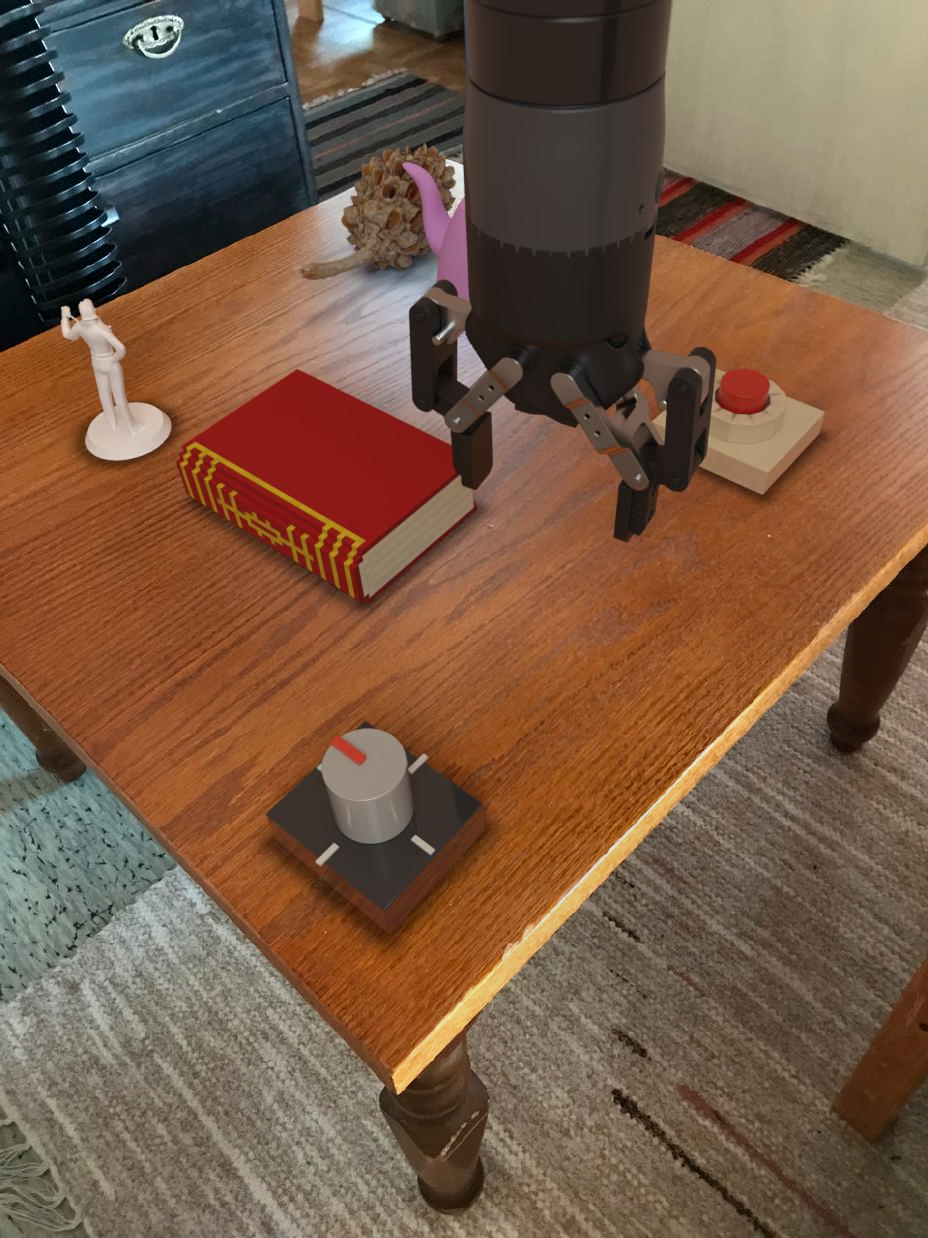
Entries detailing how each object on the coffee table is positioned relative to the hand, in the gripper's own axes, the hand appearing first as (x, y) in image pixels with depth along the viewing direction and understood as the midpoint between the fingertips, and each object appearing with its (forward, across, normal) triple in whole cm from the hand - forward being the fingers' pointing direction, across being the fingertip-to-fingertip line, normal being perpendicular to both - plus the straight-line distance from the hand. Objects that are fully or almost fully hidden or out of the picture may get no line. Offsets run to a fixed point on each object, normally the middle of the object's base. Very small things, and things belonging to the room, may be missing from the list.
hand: (551, 504), depth 50 cm
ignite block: (+16, +2, +29) cm, 33 cm away
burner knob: (+13, -4, -13) cm, 19 cm away
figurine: (+16, -42, +8) cm, 46 cm away
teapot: (+16, -23, +39) cm, 48 cm away
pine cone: (+16, -37, +39) cm, 56 cm away
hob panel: (+16, -4, -14) cm, 21 cm away
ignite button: (+12, +2, +29) cm, 32 cm away
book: (+16, -22, +8) cm, 28 cm away
